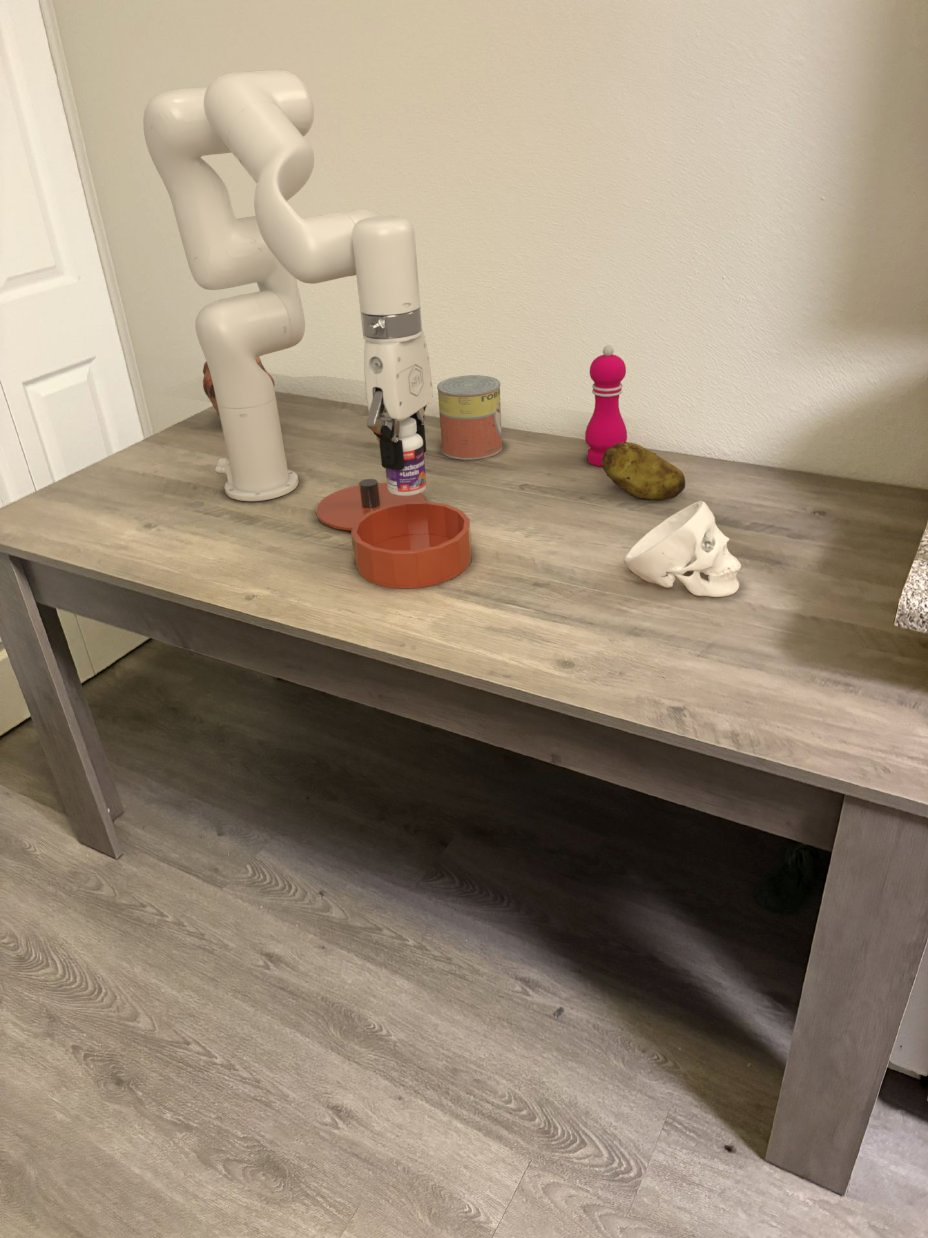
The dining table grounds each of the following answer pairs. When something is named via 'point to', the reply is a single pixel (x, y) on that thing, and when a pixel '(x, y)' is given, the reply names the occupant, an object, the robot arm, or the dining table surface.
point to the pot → (412, 544)
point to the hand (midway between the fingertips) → (404, 458)
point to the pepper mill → (605, 406)
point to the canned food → (470, 417)
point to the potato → (642, 472)
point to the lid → (358, 503)
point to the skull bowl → (686, 554)
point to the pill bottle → (408, 462)
